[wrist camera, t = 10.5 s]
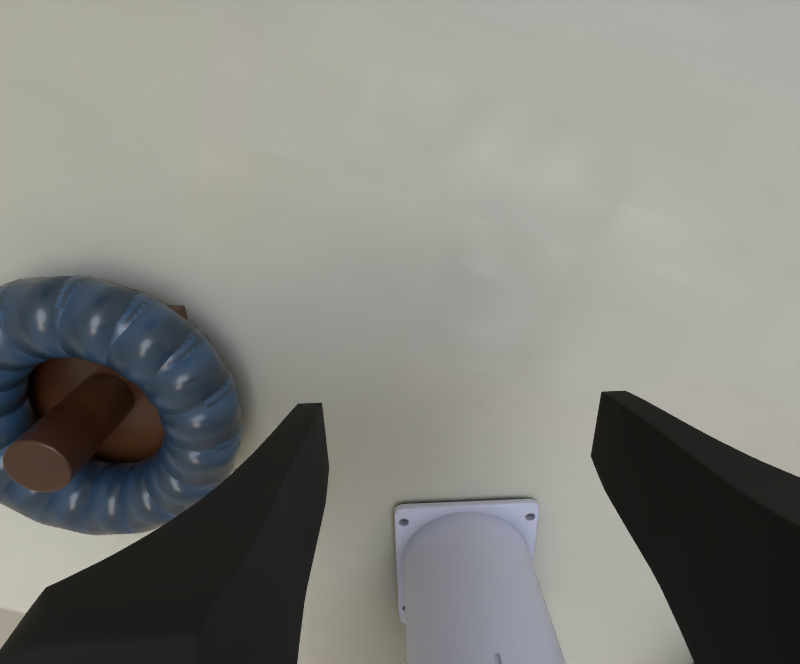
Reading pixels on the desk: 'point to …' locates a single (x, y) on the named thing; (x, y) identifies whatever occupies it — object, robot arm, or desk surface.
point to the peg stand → (81, 423)
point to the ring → (140, 364)
